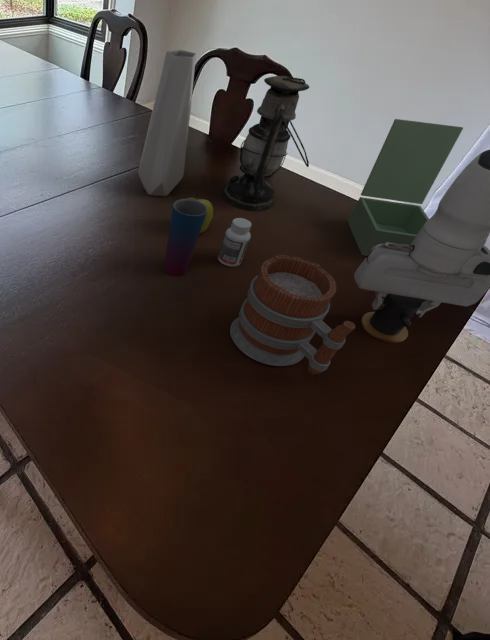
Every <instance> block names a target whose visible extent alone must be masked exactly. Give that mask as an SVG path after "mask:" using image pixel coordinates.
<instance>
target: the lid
mask: <svg viewBox="0 0 490 640" xmlns="http://www.w3.org/2000/svg"><path fill="white" fill-rule="evenodd" d="M463 130H464V127H463V126H458V125H457V126H456V125H447V124H439V123H431V122H423V121H416V120H408V119H400V118H394V120H393V122H392V124H391V127H390V129H389V131H388V133H387V136H386V137H385V139H384V142H383V144H382V146H381V149H380V151H379V153H378V155H377V158H376V160H375V162H374V164H373V166H372V168H371V170H370V173H369V176H368V177H367V179H366V182H365V184H364V186H363V187H362V190H361V193H360V197H366V198H373V199H380V200H387V201H394V202H401V203H403V202H404V203H408V204H415V205H423V203H424V202H425V200H426V198H427V196H428V194H429V192H430V191H431V189H432V188H433V185H434V183H435V181H436V180H437V178H438V175H440V172H441V171H442V168H443V166H444V165H445V163H446V161H447V159H448V157H449V155H450V153H451V152H452V150H453V148H454V147H455V145H456V143H457V141H458V139H459V137H460V135H461V133H462V131H463Z"/></svg>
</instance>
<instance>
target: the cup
mask: <svg viewBox="0 0 490 640" xmlns="http://www.w3.org/2000/svg"><path fill="white" fill-rule="evenodd" d="M207 211H208V209H207V207H206V205H204V204H203V203H201V202H199V201H197V200H193V199H188V198H180V199H176V200H175V201H174V202H173V204H172V211H171V216H170V223H169V228H168V229H169V230H168V236H167V242H166V243H167V244H166V250H165V257H164V262H163V263H164V264H163V270H164V272H165V273H167V274H168V275H170V276H174V277H181V276H184V275H186V273H187V270H188V269H189V265H190V262H191V260H192V258H193V257H192V256H193V254H194V252H195V251H194V250H195V248H196V245H197V242H198V239H199V237H200V234H201V233H200V231H201V228H202V225H203V223H204V220H205V217H206V214H207Z"/></svg>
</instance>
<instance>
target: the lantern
mask: <svg viewBox="0 0 490 640" xmlns="http://www.w3.org/2000/svg"><path fill="white" fill-rule="evenodd" d="M263 82H264V83H265V84H266V85H267V86H269V88H268V89H267V91H266V92H265V95H264V98H263V99H262V102H261V104H260V106H259V107H258V108H257V110H256V112H257V115H259V116H260V119H259V123H255V124H253V126H251V127H249V129H248V133H247V136H246V137H245V139H244V140H243V141H242V142H241V144H240V149H239V150H240V151H239V153H240V154H239V163H240V166H239V170H240V171H241V173H243V175H240V176H239V175H233V176H231V177H230V178H229V180H228V183H227V185H226V186H225V187H224V188H223V189H222V190H221V193H220V195H221V198H222V199H223V201H225V202H226V203H227V204H229V205H231V206H233V207H235V208H238V209H240V210H245V211H249V212H250V211H251V212H262V211H267V210H270V209H271V208H272V207H273V206H274V205H275V202H274V199H275V198H274V197H275V196H274V194H275V188H274V187H273V186H272V185H271V184H270V183H269V182H268V181H267V180H266V179H269V178H272V177H273V176H275V174H276V173H278V171H279V170H280V169H281V168H282V167H283V164H284V162H285V160H286V156H287V155H288V152H287V150H288V145H289V144H288V143H289V141H290V139H292V140H293V143H294V145H295V146H296V149H297V150H298V153H299V155H300V157H301V159H302V161H303V163H304V165H305V166H306V167H307V168H308V167H310V164H309V163H310V162H309V159H308V155H307V151H306V149H305V147H304V143H303V142H302V140H301V138H300V137H299V136H300V135H298V133H297V130H296V128H295V127H294V124H293V123H292V121H293V120H296V116H297V114H296V109H297V106H298V102H299V99H300V94H299V92H303V91H307V90H308V89H310V85H309V84H308V83H306V80H305V79H303V78H300V77H294V76H289V75H288V76H287V75H275V76H269V77H266V78H264V79H263ZM288 122H289V124H290V126H291V127H292V129H293V132H294V133H295V135H296V138H297V140H298V141H299V144H300V146H301V148H302V150H303V153H304V155H303V153H302V151H301V149H300V147H299V145H298V143H297V140H296V139H295V137H294V135H293V133H292V131H291V130H290V128H289V126H288Z"/></svg>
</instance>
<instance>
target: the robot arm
mask: <svg viewBox="0 0 490 640" xmlns="http://www.w3.org/2000/svg"><path fill="white" fill-rule="evenodd" d="M489 236H490V149H486V150H483V151H482V152H480V153H478V155H476V156H475V157H474V158H473V159H472V160H471V161H470V162H469V163H468V164H467V165H466V166H465V167H464V168H463V170H462V171H461V172H460V173H459V174H458V176H456V178H455V179H454V180H453V182H452V183H451V184H450V185H449V187H448V189H447V190H446V191H445V193H444V194H443V196H442V197H441V198H440V200H439V203H438V205H437V209H436V211H435V212H434V213H433V214H432V216H431V217H429V219H428V220H427V221H426V222H425V224H424V225H423V227H422V228H421V230H420V231H419V232H418V234H417V235H416V237H415V238H414V240H413V241H412V243H411V244H410V245H407V244H396V243H393V242H385V243H383V244H378V245H376V246H374V247H372V249H371V250H370V252H369V253H368V255H367V256H366V257H365V259H364V260H363V261H362V262H361V263H360V265H358V267H357V268H356V270H355V272H354V273H353V278H354V282H355V284H356V286H357V287H358V289H360V290H364V291H371V292H374V297H375V298H374V300H373V302H372V303H371V308H372V310H375V311H376V310H380V311H382V310H383V308H384V307H385V306H386V303H385V300H384V299H385V297H386V296H387V294H388V293H389V294H395V295H401V296H407V297H413V298H419V299H420V300H425V301H423V302H421V303H422V304H421V307H420V308H419V309H418V310H417V312H416V313H415V314H414V315H413V317H416V318H422V317H423V316H424V315H425V314H426V313H427V312H429V311H431V310H433V309H435V308H438V307H439V306H440V305H441V304H442V303H444V304H450V305H455V306H461V307H470V306H472V305H475V304H477V302H479V301H480V300H481V298H483V296H484V295H485V294H486V293H487V292H488V290H489V289H490V248H488V246H486V244H487V240H488V238H489ZM383 297H384V298H383Z"/></svg>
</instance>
